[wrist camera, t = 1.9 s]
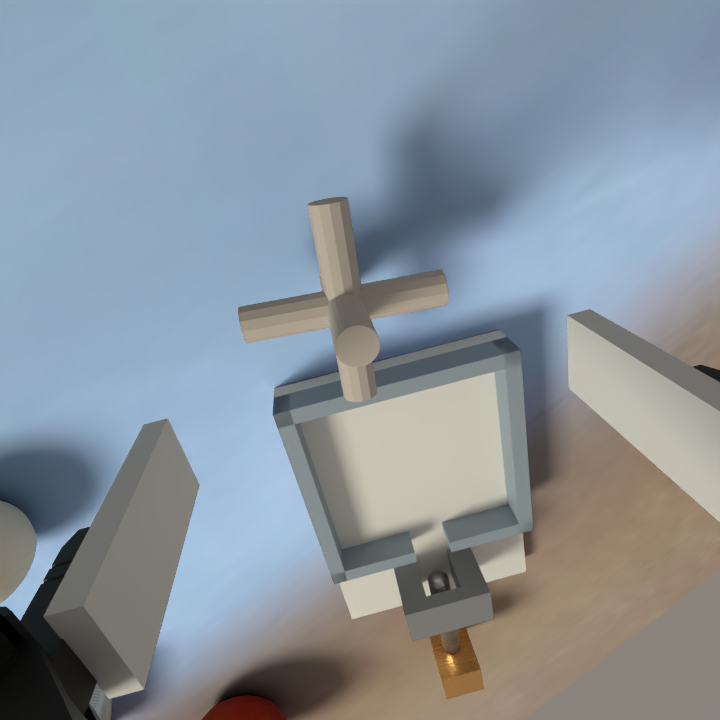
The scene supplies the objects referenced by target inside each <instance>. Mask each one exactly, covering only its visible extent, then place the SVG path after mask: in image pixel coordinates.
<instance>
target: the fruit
mask: <svg viewBox="0 0 720 720" xmlns="http://www.w3.org/2000/svg"><path fill="white" fill-rule="evenodd" d="M202 720H287V719H286V717H285V716H284V715H283V713H282V712H281V711H280V709H279V708H278V707H277V706H276V705H275V704H274V703H273V702H271V701H269V700H267V699H264V698H261V697H257V696H251V695H243V696H237V697H233V698H230V699H228V700H225V701H223V702H221V703H218V704H217V705H216V706H214V707H213V708H212V709H211V710H210V711H209V712H208V713H207V714H206V715H205V716H204V718H203V719H202Z"/></svg>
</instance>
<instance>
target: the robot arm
mask: <svg viewBox="0 0 720 720" xmlns="http://www.w3.org/2000/svg"><path fill="white" fill-rule="evenodd" d="M567 330H568V372H569V388H570V389H571V390H572V391H573V392H574V393H575V394H576V395H577V396H579V397H580V398H581V399H582V400H583V401H584V402H585V403H586V404H588V405H589V406H590V407H591V408H592V409H593V410H594V411H595V412H597V413H598V414H599V415H600V416H601V417H602V418H603V419H604V420H606V421H607V422H608V423H609V424H610V425H611V426H612V427H613V428H615V429H616V430H617V431H618V432H619V433H620V434H621V435H622V436H624V437H625V438H626V439H627V440H628V441H629V442H630V443H631V444H633V445H634V446H635V447H636V448H637V449H638V450H639V451H640V452H642V453H643V454H644V455H645V456H646V457H647V458H648V459H649V460H651V461H652V462H653V463H654V464H655V465H656V466H657V467H658V468H660V469H661V470H662V471H663V472H664V473H665V474H666V475H667V476H669V477H670V478H671V479H672V480H673V481H674V482H675V483H676V484H678V485H679V486H680V487H681V488H682V489H683V490H684V491H685V492H687V493H688V494H689V495H690V496H691V497H692V498H693V499H694V500H696V501H697V502H698V503H699V504H700V505H701V506H702V507H703V508H705V509H706V510H707V511H708V512H709V513H710V514H711V515H712V516H714V517H715V518H716V519H717V520H718V521H719V522H720V370H717V369H714V368H710V367H707V366H703V365H698V366H694V367H692V366H690V365H688V364H686V363H685V362H683V361H681V360H679V359H677V358H676V357H674V356H672V355H670V354H669V353H667V352H665V351H663V350H661V349H660V348H658V347H656V346H654V345H653V344H651V343H649V342H647V341H645V340H644V339H642V338H640V337H638V336H637V335H635V334H633V333H631V332H629V331H628V330H626V329H624V328H622V327H621V326H619V325H617V324H615V323H613V322H612V321H610V320H608V319H606V318H604V317H603V316H601V315H599V314H597V313H596V312H594V311H592V310H590V309H589V310H585V311H581V312H578V313H574V314H570V315H567ZM198 489H199V483H198V481H197V479H196V476H195V474H194V472H193V470H192V468H191V466H190V464H189V462H188V460H187V458H186V456H185V454H184V452H183V449H182V447H181V445H180V443H179V441H178V439H177V437H176V435H175V433H174V431H173V429H172V427H171V424H170V422H169V420H168V419H164V420H160V421H156V422H152V423H148V424H144V425H143V427H142V429H141V431H140V433H139V435H138V437H137V439H136V440H135V442H134V444H133V446H132V448H131V450H130V452H129V454H128V456H127V458H126V460H125V461H124V463H123V465H122V467H121V469H120V471H119V473H118V475H117V477H116V479H115V481H114V482H113V484H112V486H111V488H110V490H109V492H108V494H107V496H106V498H105V500H104V502H103V503H102V505H101V507H100V509H99V511H98V513H97V515H96V517H95V519H94V521H93V523H92V524H91V526H90V527H87V528H84V529H80V530H78V531H77V532H76V533H75V534H74V535H73V536H72V537H71V539H70V540H69V541H68V542H67V543H66V544H65V545H64V546H63V547H62V548H61V550H60V552H59V554H58V556H57V557H56V559H55V561H54V563H53V564H52V569H50V570H49V571H48V573H47V575H46V577H45V578H44V580H43V581H44V584H41V585H40V587H39V589H38V591H37V593H36V594H35V596H34V598H33V600H32V601H31V603H30V605H29V607H28V608H27V610H26V612H25V614H24V615H23V617H22V619H21V621H19V619H18V618H17V617H16V616H15V615H14V613H13V612H12V611H11V610H9V609H8V608H7V607H0V720H100V718H99V716H98V714H97V712H96V711H95V710H94V708H93V707H92V706H91V705H90V704H89V703H90V700H91V697H92V694H93V692H94V689H95V686H96V683H97V685H98V686H99V687H100V688H101V690H102V691H103V692H104V693H105V695H106V696H107V697H108V698H109V699H111V698H115V697H119V696H122V695H126V694H130V693H133V692H137V691H141V690H144V689H145V685H146V682H147V678H148V674H149V670H150V667H151V663H152V659H153V656H154V652H155V648H156V644H157V641H158V637H159V633H160V630H161V626H162V622H163V619H164V615H165V611H166V607H167V604H168V600H169V596H170V593H171V589H172V585H173V581H174V578H175V574H176V570H177V567H178V563H179V559H180V555H181V552H182V548H183V544H184V541H185V537H186V533H187V530H188V526H189V522H190V518H191V515H192V511H193V507H194V504H195V500H196V496H197V492H198Z"/></svg>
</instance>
